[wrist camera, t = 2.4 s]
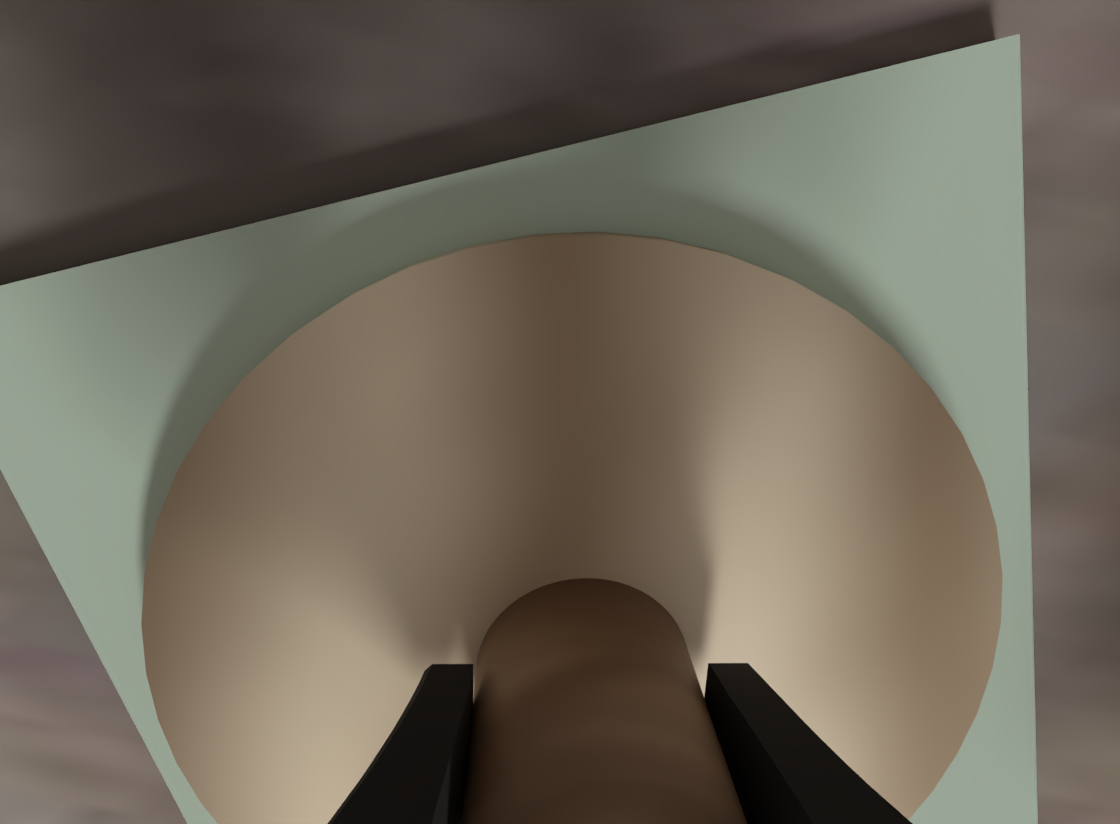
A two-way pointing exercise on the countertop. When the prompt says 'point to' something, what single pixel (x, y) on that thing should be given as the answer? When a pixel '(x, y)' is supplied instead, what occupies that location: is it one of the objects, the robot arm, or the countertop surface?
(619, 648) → the lid
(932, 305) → the mat
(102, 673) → the countertop surface
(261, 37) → the countertop surface
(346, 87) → the countertop surface
